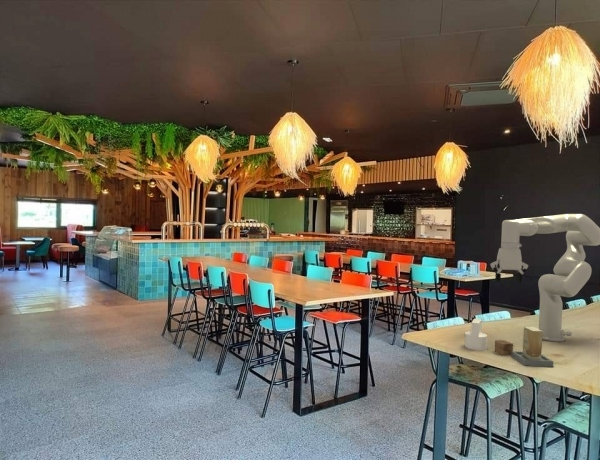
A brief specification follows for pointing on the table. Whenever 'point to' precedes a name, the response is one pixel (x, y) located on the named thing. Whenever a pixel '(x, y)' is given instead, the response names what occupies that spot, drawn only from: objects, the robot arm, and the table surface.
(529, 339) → the skincare box
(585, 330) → the table surface
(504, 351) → the walnut block
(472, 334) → the base with upright slab
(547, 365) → the slate tray
